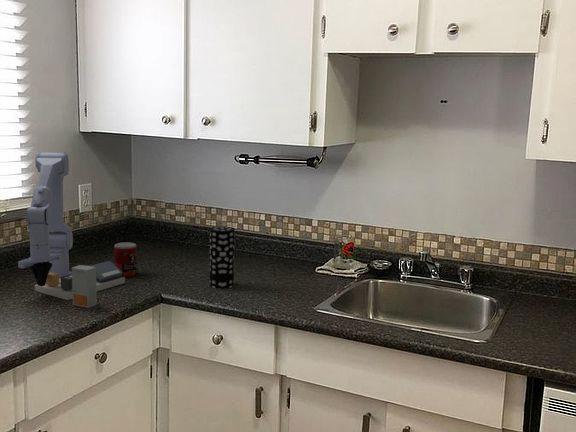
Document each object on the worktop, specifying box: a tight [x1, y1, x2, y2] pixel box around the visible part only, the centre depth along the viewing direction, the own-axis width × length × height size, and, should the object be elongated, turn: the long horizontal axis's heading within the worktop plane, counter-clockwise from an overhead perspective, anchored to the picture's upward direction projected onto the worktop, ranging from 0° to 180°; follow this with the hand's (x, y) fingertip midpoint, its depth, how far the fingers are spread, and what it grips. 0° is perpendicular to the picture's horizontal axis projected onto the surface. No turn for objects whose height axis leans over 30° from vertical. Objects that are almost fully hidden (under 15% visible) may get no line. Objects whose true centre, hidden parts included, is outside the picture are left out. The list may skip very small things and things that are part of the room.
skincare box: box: [71, 264, 98, 309], centre depth 188 cm, size 6×4×12 cm
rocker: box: [90, 260, 123, 281], centre depth 211 cm, size 7×9×2 cm
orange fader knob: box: [46, 272, 59, 286], centre depth 201 cm, size 4×2×4 cm
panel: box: [34, 274, 126, 301], centre depth 207 cm, size 16×24×4 cm, turn 148°
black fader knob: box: [60, 275, 72, 290], centre depth 197 cm, size 4×2×4 cm
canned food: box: [113, 241, 138, 278], centre depth 223 cm, size 8×8×11 cm
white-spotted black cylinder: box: [209, 225, 235, 290], centre depth 212 cm, size 8×8×20 cm
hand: (41, 285), depth 198 cm, fingers closed
